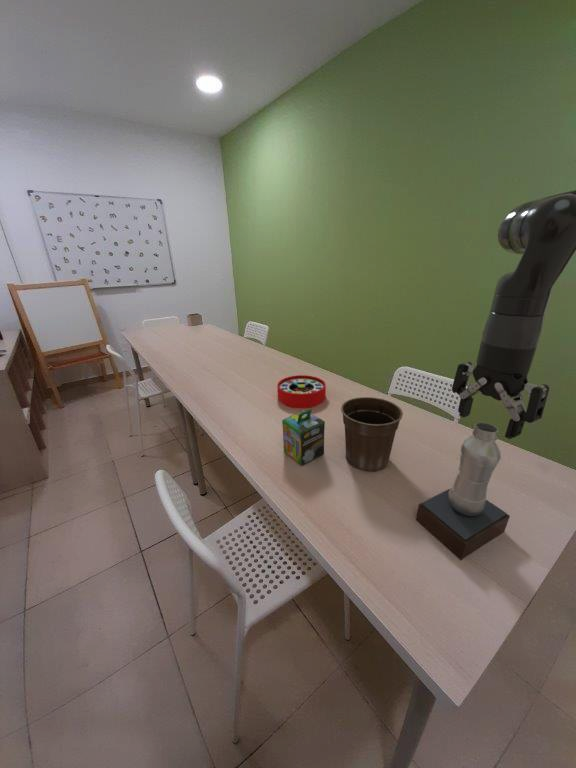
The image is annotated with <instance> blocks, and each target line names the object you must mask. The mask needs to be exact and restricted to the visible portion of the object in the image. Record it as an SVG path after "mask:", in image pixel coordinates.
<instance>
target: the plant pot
mask: <svg viewBox="0 0 576 768" xmlns="http://www.w3.org/2000/svg"><path fill="white" fill-rule="evenodd" d="M340 412H341V414H342V422H343V424H344V438H345V439H344V441H345V458H346V460H347V461H348V462H349V463H350V465H351V466H352V467H354V468H356V469H359V470H362V471H367V472H377V471H378V470H380V469H382V470H384V468H386V467H387V466H388V464H389V462H390V456H391V454H392V453H391V452H392V448H393V445H394V441H395V437H396V432H397V431H398V429H399V425H400V422H401V421H402V419H403V415H404V413H403V410H402V409H401V407H400V406H399V405H398V404H396V403H394V402H392V401H389V400H388V399H384V398H379V397H373V396H362V397H353V398H350V399H347V400H346V401H344V402H343V403H342V405H341V406H340Z"/></svg>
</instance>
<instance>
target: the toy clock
mask: <svg viewBox="0 0 576 768" xmlns="http://www.w3.org/2000/svg"><path fill="white" fill-rule="evenodd" d="M326 388H327V384H326V382H325V380H324V379H322V378H320V377H318V376H313V375H307V374H306V375H305V374H299V375H291V376H286V377H284V378H282V379H280V380H279V381H278V382H277V401H278V402H279V403H280V404H282V405H283V406H285V407H289V408H294V409H311V408H314V407H317V406H320V405H321V404H323V403H324V402H325V400H326V398H327V397H326V395H327V394H326V393H327V391H326V390H327V389H326Z"/></svg>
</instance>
